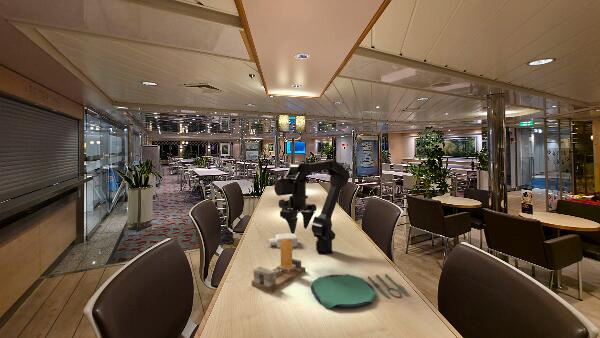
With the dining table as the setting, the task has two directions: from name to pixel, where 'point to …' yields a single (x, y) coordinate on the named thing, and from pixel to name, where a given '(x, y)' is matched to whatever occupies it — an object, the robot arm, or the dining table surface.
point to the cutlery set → (348, 290)
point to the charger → (281, 237)
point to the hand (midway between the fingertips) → (299, 230)
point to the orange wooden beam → (286, 257)
